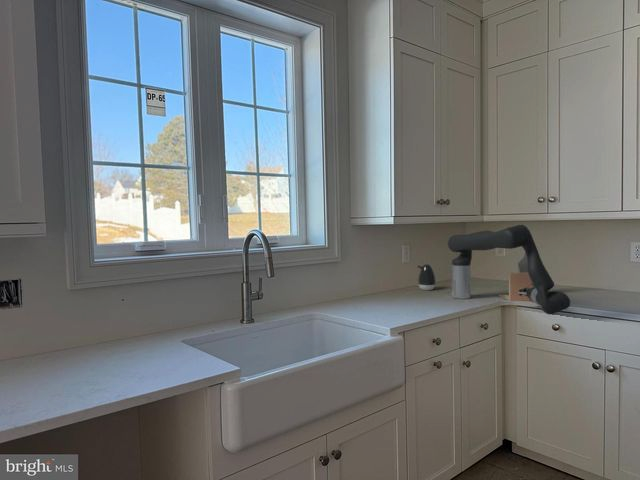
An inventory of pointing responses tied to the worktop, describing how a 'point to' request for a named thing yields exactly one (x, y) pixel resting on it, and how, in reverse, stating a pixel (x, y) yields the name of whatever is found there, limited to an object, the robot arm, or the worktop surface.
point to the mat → (504, 296)
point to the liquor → (524, 266)
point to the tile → (518, 286)
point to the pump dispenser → (426, 277)
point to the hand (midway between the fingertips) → (526, 289)
